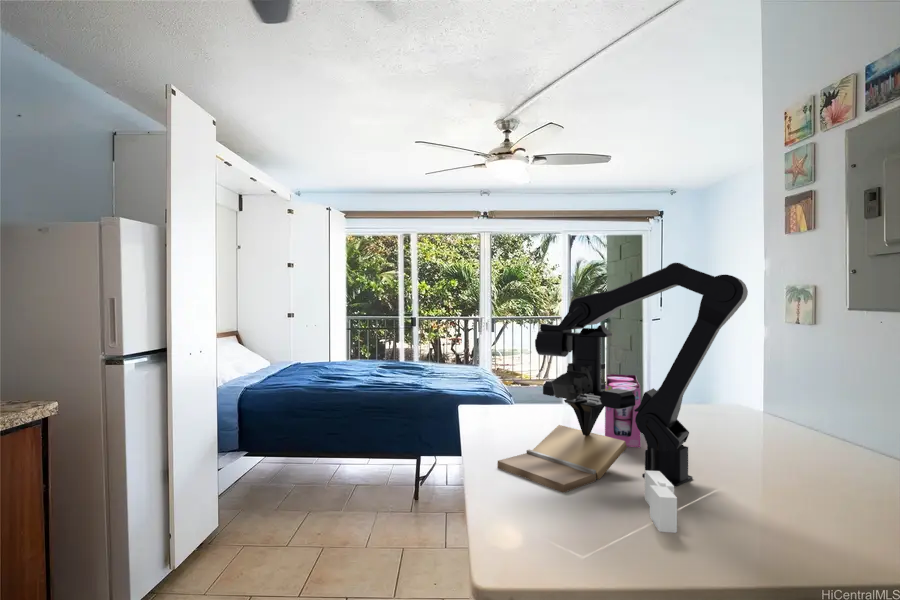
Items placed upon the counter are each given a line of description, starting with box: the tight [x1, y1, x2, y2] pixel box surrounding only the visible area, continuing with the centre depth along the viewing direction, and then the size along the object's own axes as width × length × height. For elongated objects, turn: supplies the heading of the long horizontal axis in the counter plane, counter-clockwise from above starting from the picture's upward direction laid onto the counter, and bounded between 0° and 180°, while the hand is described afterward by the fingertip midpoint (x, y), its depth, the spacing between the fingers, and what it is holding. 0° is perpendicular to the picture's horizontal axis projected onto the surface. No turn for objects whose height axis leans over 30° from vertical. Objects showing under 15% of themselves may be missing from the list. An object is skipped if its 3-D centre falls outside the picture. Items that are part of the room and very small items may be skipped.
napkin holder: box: [644, 469, 678, 533], centre depth 74 cm, size 15×11×6 cm
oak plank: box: [532, 424, 628, 480], centre depth 98 cm, size 16×10×2 cm, turn 38°
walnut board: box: [497, 448, 597, 493], centre depth 92 cm, size 16×9×2 cm, turn 38°
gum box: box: [604, 373, 642, 448], centre depth 121 cm, size 24×8×14 cm, turn 162°
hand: (586, 435), depth 100 cm, fingers closed, pressing on oak plank
